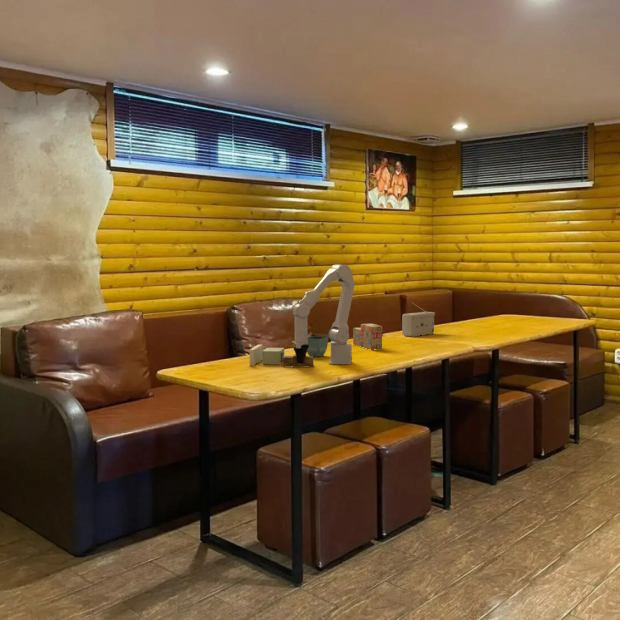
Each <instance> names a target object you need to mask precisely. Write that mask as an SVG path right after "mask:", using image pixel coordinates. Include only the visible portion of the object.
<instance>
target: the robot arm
mask: <svg viewBox="0 0 620 620" xmlns="http://www.w3.org/2000/svg"><path fill="white" fill-rule="evenodd" d="M337 281H338V284H340V286H341V292H340V295H339V296H340V297H339V300H338V306H337V311H336V316H335V320H334V322H333V323H332V326H331V328H330V329H329V331H328V339H329V340H330V361H329V363H328V364H329V365H351V364H352V362H353V354H352V353H353V352H352V350H353V348H352V343H348V341H349V339H350V333H349V330H350V329H349V325H348V320H349V315H350V311H351V306H352V300H353V295H354V291H355V290H354V289H355V285H356V284H355V280H354V277H353V270H352V269H351V267H350V266H349V265H347V264H339V263H335V264H333V265H332V266H331V267H330V268H329V269H328V270H327V271H326V273H325V274H324V276H323V277H322V279H321V280H320V281H319V282H318V284H317V285H316V286H315V287H314V289H313V290H309V291H305V295H304V296H303V298H302V299H301V300H299V301H298V303H297V304H295V305H294V306H293V309H292V311H291V312H292V315H293V316H294V322H293V323H294V340H292V341H291V343H292V344H294V345H295V346H293V348H292V349H293V351H294V353H295V354H296V356H297V361H298V363H303V361H304V356H307V354H308V353H307V349H308V347H309V345H305V344H308V337H309V336H308V335H309V334H308V332H309V331H308V316H309V315H310V312H311V309H313V307H314V306H315V305H316V304H317V303H318V301H319V300H320V295H321V294H322V293H323V292H324V291H325V290H326V288H327V287H328V286H329V285H330V284H331V283H333V282H337Z"/></svg>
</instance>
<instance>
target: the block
mask: <svg viewBox="0 0 620 620" xmlns="http://www.w3.org/2000/svg"><path fill="white" fill-rule="evenodd" d="M283 356H285V348H284V347H266V348H265V349H262V360H261V362H262V363H261V364H262V365H282V357H283Z"/></svg>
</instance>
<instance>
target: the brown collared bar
mask: <svg viewBox="0 0 620 620" xmlns="http://www.w3.org/2000/svg"><path fill="white" fill-rule="evenodd" d="M285 366H293V367H292V368H297V367H296V366H310V367H309V368H312V367H311V366H313V367H314V357H313V356H309V355H308V356H307V355H306V356H304V361H303V363H298V361H297V356H296V353H295V354H293V355H284V356H283V357H282V361H281V367H285Z"/></svg>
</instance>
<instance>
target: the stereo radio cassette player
mask: <svg viewBox="0 0 620 620" xmlns="http://www.w3.org/2000/svg"><path fill="white" fill-rule="evenodd" d="M412 304H414V305H415V306H416V307H417V308H419V309H420V310H422V311H420V312H410V313H403V314H402V318H401V321H402V322H401V328H402V329H401V331H402V332H401V333H402V335H403V336H404V337H410V336H411V338H413V337H421V336H420V335H422V336H426V334H429V335H433V334H435V315H436V312H435V311H434V312H433V311H426V310H425V309H423V308H421V307H419V305H416V304H415V303H414V302H412ZM432 333H433V334H432Z"/></svg>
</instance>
